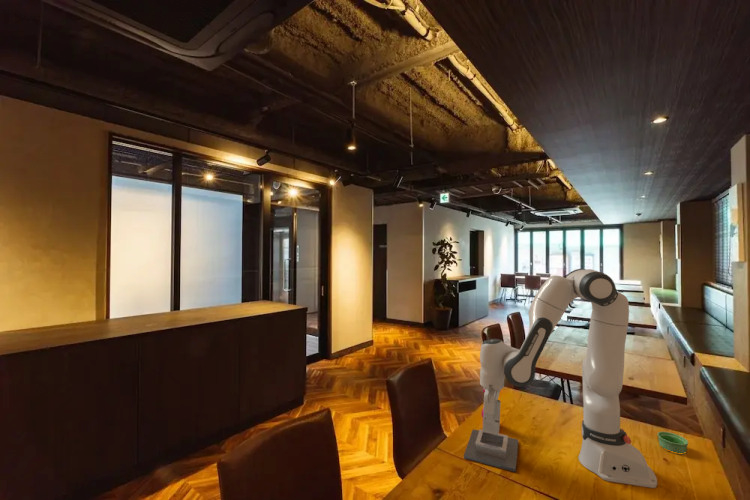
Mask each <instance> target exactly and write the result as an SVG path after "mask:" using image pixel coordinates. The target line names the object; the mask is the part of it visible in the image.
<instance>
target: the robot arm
mask: <svg viewBox="0 0 750 500" xmlns="http://www.w3.org/2000/svg"><path fill="white" fill-rule="evenodd" d="M578 298H580V299H583V300H586V301H588V302H590V303H591V309H592V310H591V315H590V320H589V328H588V329H589V330H588V336H587V346H586V347H587V348H586V356H585V357H584V358H583V360H582V363H581V364H582V365H581V370H582V374H581V375H582V376H581V377H582V399H583V402H582V403H583V411H582V412H583V413H582V414H583V420H582V422H581V436H582V442H581V448H580V452H579V454H578V461H579V462H580V464H581V465H582V467H585V468H586V469H587V470H589V471H591V472H592V473H594V474H596V475H598V477H599V478H601V479H602V480H604V481H606V482H612V483H619V484H625V485H632V486H637V487H645V488H650V489H656V487H657V486H658V478H657V476H656V474H655V472H654V471H653V469H652V468H651V467H650V466H649V465H648V463H647V461H646V459H645V456H644V455H643V454H642V452H641V451H640V450H639V449H637V448H636V447H635V446H633V445H632V440H631V437H630V436H628V434H627V432H626V431H625V430H624V428H621V407H620V398H619V397H620V396H619V395H620V393H621V392H622V389H623V382H624V372H625V349H626V340H627V335H628V334H627V333H628V327H629V321H630V319H629V317H630V308H629V307H630V305H629V299H628V298H627V297H626V296H625V294H623V293H621V292H619V291H618V289H617V287H616V284H615V282H614V280H613V279H612V278H611V277H610V276H609V275H608V274H606V273H605V272H601V271H598V270H594V269H588V268H587V269H586V268H577V269H574V270H572V271H570V272H569V273H567V274H566V275H564V276H561V275H552V276H549V277H548V278H547V279H546V280H545V282H544V283H543V284H542V285H541V287H539V289H538V290H537V293H535V296H534V297H533V299H532V301H531V302H530V303H531V304H530V306H529V309H528V313H527V314H528V320H529V321H528V322H529V326H528V327H529V328H528V332H527V335H526V337H525V339H524V340H523V343H522V345H521V347H520V348H515V347H513V346H510V345H509V344H507V343H505V342H504V341H503V340H501V339H498V338H489V339H486V340H484V341H482V343H481V346H480V350H479V351H480V353H479V354H480V355H479V362H480V370H479V384H480V386H481V387H482V390H483V389H484V390H485V393H484V392H483V393H484V394H483V395H484V396H483V408H484V414H487V415H488V419H489V420H493V418H494V412H495V408H496V403H497V400H498V399H499V396H500V392H501V390H502V389H504V387H505V381H504V380H505V379H506V380H507V381H508V383H510V384H511V385H513V386H516V387H520V388H521V387H528V386H529V385H531V384H532V383H533V381H534V380H535V378H536V365H537V363H538V360H539V358H540V357H541V354H542V352H543V350H544V348H545V346H546V345H547V342H548V340H549V338H550V336H551V334H552V333H553V332H554V330H555V328H556V326H557V325H558V323H559V321H560V320H561V319H562V317H563V315H564V313H565V312H566V310H567V308H568V306H569V304H570V303H571V302H572V301H573V300H575V299H578Z"/></svg>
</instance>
